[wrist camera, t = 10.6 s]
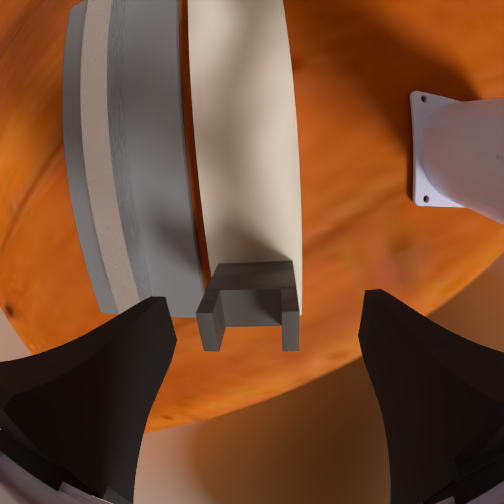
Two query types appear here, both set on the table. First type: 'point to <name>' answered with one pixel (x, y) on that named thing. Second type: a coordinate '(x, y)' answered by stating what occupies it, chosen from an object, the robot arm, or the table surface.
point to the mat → (140, 155)
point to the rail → (110, 153)
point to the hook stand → (246, 167)
